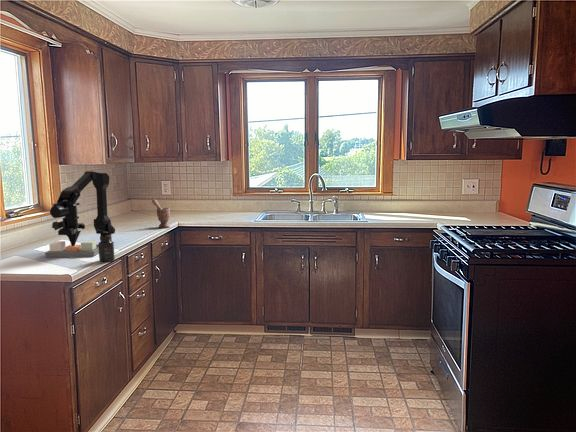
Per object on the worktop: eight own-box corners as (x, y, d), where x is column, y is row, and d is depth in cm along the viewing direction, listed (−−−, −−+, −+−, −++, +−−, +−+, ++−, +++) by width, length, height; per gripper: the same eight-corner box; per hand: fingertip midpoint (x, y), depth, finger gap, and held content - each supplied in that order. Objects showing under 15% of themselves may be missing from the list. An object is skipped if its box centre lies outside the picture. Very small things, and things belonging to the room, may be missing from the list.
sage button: (85, 248, 225) (84, 240, 225) (96, 248, 226) (95, 240, 225) (81, 250, 220) (80, 242, 219) (92, 250, 220) (92, 242, 220)
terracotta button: (70, 252, 225) (69, 244, 224) (81, 252, 225) (80, 244, 225) (66, 255, 220) (65, 247, 219) (77, 254, 220) (76, 246, 219)
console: (54, 252, 226) (53, 248, 226) (100, 251, 228) (100, 247, 228) (45, 257, 217) (45, 252, 216) (94, 256, 219) (93, 251, 218)
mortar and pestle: (161, 229, 292) (160, 199, 289) (151, 228, 296) (150, 199, 293) (173, 227, 302) (172, 197, 299) (163, 226, 306) (162, 197, 303)
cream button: (54, 249, 224) (54, 241, 223) (65, 248, 224) (65, 241, 224) (49, 251, 219) (49, 243, 218) (61, 251, 219) (60, 243, 218)
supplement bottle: (116, 258, 214) (115, 234, 212) (111, 262, 207) (110, 237, 205) (102, 259, 214) (100, 234, 212) (96, 262, 207) (95, 237, 205)
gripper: (61, 212, 228) (64, 242, 230) (45, 218, 210) (48, 250, 212) (84, 212, 229) (86, 241, 231) (69, 217, 211) (72, 249, 213)
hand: (73, 245), depth 222 cm, fingers closed, pressing on terracotta button
